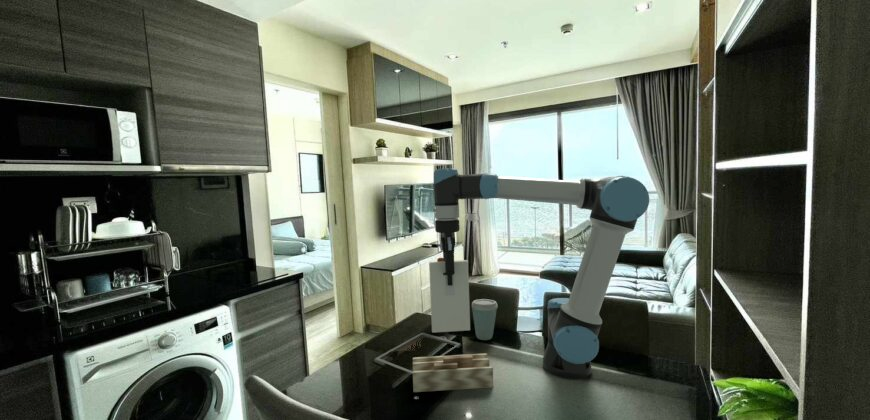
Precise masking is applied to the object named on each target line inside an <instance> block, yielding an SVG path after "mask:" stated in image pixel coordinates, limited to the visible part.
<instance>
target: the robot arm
mask: <svg viewBox="0 0 870 420" xmlns="http://www.w3.org/2000/svg"><path fill="white" fill-rule="evenodd" d="M433 197H434V198H433V200H434V201H433V202H434V208H432V212H433V213H434V218H435V219H436V220H435V221H434V228H435V229H434V230H435V231H434V232H436V233H440V234H443V235H442V236H441V237H440V243H441V251H442V255H443V257H442V258H443V261H445V273H443V275H445V290H446V296H448V295H455V293H454V274H455V271H454V261H455V245H456V244H455V243H456V241H455V240H456V239H455V237H454V236H453V233H457V232H458V233H459V231H460V227H461V226H460V220H459V219H458V218H459V217H460V204H459V201H460V200H489V199H501V200H512V201H513V200H515V201H523V202H524V201H525V202H537V203H545V204H546V203H548V204H559V205H572V206H576V207H577V208H578V209H579V210H580V209H581V210H589V211H591V212H590V214H589V220H590V221H591V223H592V227H591V230H590V233H589V237H588V238H587V239H588V240H587V242H586V245H585V248H584V252H583V254H582V258H581V261H580V265H579V268H578V269H577V274H576V276H575V280H574V283H573V286H572V290H571V292H570V295H569V297H555V298H552V299H549V300H548V302H547V344H546V345H547V346H546V348H545V350H544V353H543V356H542V367H543V369H544V370H545V371H546V372H548V373H549V374H551V376H555V377H558V378H561V379H567V380H581V379H585V378H588V377H589V376H590V375H591V373H592V363H591V361H593V360H594V359H595V358H596V356H597V355H598V353H599V352H600V351H599V349H600V340H599V338H598V336H599V333H600V330H601V327H602V324H603V319H602V318H601V316H600V311H601V308H602V305H603V302H604V299H605V297H606V293H607V290H608V287H609V284H610V281H611V279H612V276H613V273H614V269H615V266H616V264H617V260H618V258H619V255H620V252H621V249H622V246H623V244H624V240H625V238H626V235H627V234H629V233H630V232H633V231H635V227H636V225H637V221H638V219H640V217H641V216H643V215H644V214H645V213H646V211H647V210H648V207H649V205H650V194H649V191H648V190H647V187H646V186H645V185H644V183H642V181H640V180H638V179H636V178H633V177H630V176H627V175H618V176H608V177H602V178H599V177H598V178H581V179H580V180H562V179H548V178H534V177H524V176H523V177H521V176H506V175H497V174H496V173H486V172H484V173H473V174H472V173H471V174H460V173H459V172H458V169H457V168H437V169H435V170H434V171H433Z"/></svg>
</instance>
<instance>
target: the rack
mask: <svg viewBox="0 0 870 420" xmlns="http://www.w3.org/2000/svg"><path fill="white" fill-rule="evenodd" d="M459 355H460V354H452V355H448V356H459ZM466 355H472V356H473V368H458V369H441V370H434V363H443V356H444V355H443V356H440V355H435V356H434V355H433V356H417V357H416V356H415V357H412V371H413V374H412V389H413V393H421V392H437V391H438V392H439V391H453V390H467V389H468V390H469V389H472V390H473V389H487V388H494V367H493V366H490V358H489V357H488V353H468V354H466Z"/></svg>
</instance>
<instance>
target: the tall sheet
mask: <svg viewBox="0 0 870 420" xmlns="http://www.w3.org/2000/svg"><path fill="white" fill-rule="evenodd" d="M428 267H429V290H430V292H429V293H430V295H429V297H430V312H431V313H430V314H431V315H430V316H431V317H430V319H431V333H449V332H450V333H451V332H464V331H471V314H470V311H471V310H470V309H471V308H470V283H469V281H470V279H469V276H470V275H469V260H467V259H462V260H454V271H455V274H454V293H455V295H448V296H446V290H445V275H443V273H445V261H440V262H437V261H429V262H428Z"/></svg>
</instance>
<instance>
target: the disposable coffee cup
mask: <svg viewBox="0 0 870 420" xmlns="http://www.w3.org/2000/svg"><path fill="white" fill-rule="evenodd" d="M498 307H499V306H498V303H497V301H496V300H494V299H487V298H481V299H475V300H473V301H472V302H471V309H472V317H473V325H474V330H475V331H474V332H475V337H476V338H477V339H478V340H480V341H488V340H489V341H490V340H491V339H493V335H494V329H495V323H496V317H497V316H496V315H497V309H498Z"/></svg>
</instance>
